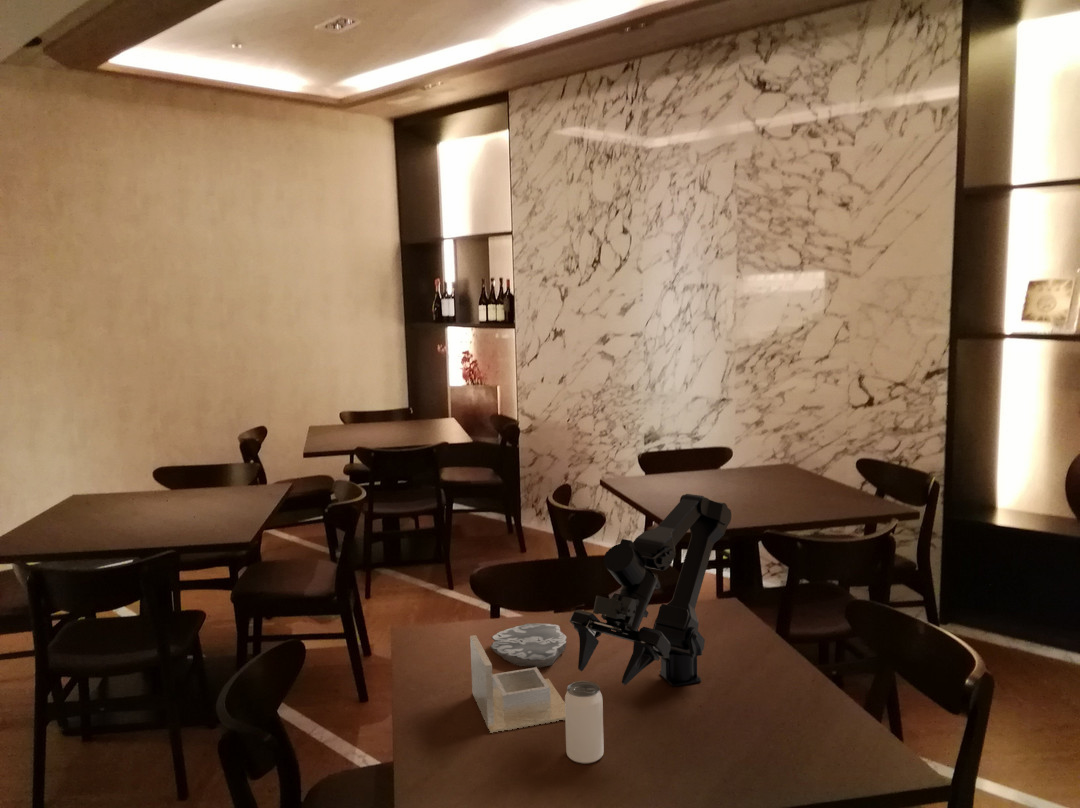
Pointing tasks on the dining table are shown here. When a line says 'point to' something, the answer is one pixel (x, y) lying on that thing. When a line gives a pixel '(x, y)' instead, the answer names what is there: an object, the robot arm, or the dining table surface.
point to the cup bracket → (512, 694)
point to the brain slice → (530, 644)
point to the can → (584, 722)
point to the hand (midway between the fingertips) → (601, 677)
